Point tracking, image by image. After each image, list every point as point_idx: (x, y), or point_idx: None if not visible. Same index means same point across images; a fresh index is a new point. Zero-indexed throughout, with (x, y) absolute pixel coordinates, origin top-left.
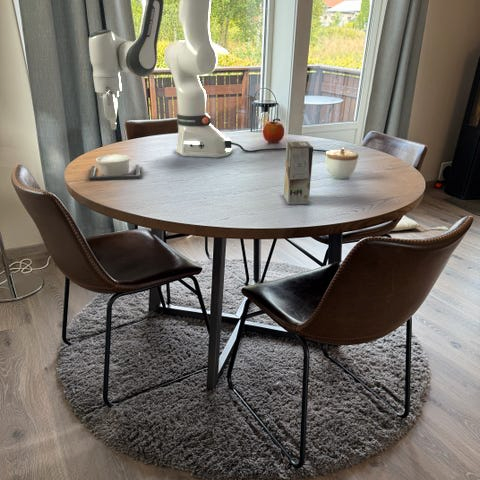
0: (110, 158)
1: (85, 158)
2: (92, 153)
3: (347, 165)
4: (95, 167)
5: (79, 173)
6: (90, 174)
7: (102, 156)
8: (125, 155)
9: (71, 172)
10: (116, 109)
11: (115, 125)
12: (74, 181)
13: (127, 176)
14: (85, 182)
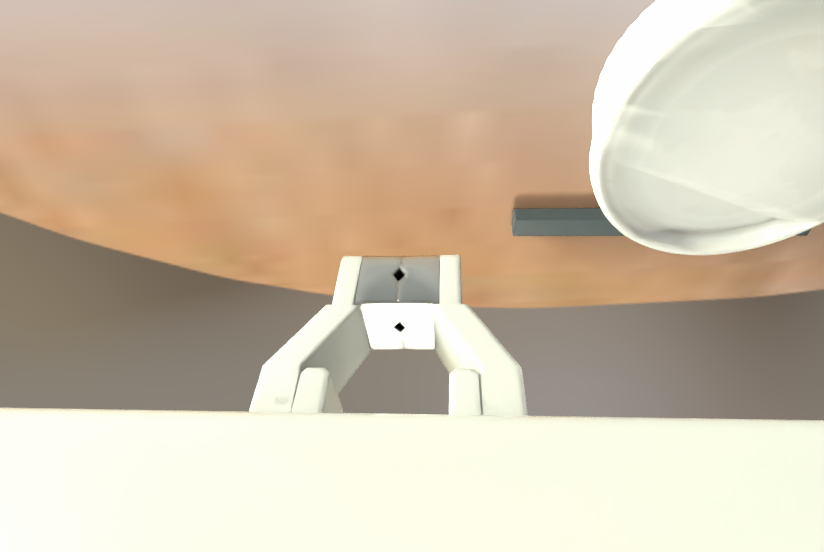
0: (757, 164)
1: (250, 267)
2: (117, 243)
3: None
4: (523, 214)
5: (592, 273)
6: None
7: (623, 222)
8: (708, 24)
9: (556, 303)
10: (399, 516)
11: (461, 292)
12: (755, 283)
13: None
14: (818, 239)
